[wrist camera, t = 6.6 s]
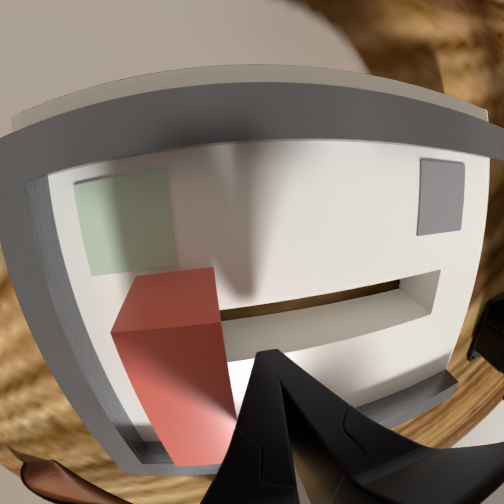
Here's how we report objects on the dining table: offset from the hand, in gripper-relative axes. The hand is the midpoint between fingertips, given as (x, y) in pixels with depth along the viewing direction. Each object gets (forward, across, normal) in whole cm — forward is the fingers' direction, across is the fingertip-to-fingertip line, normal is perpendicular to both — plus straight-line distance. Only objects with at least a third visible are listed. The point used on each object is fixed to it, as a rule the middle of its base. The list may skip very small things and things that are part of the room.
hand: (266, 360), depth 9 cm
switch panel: (+5, -2, 0) cm, 5 cm away
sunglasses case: (+5, +20, +26) cm, 33 cm away
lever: (+4, +2, 0) cm, 4 cm away
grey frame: (+2, -2, 0) cm, 3 cm away
